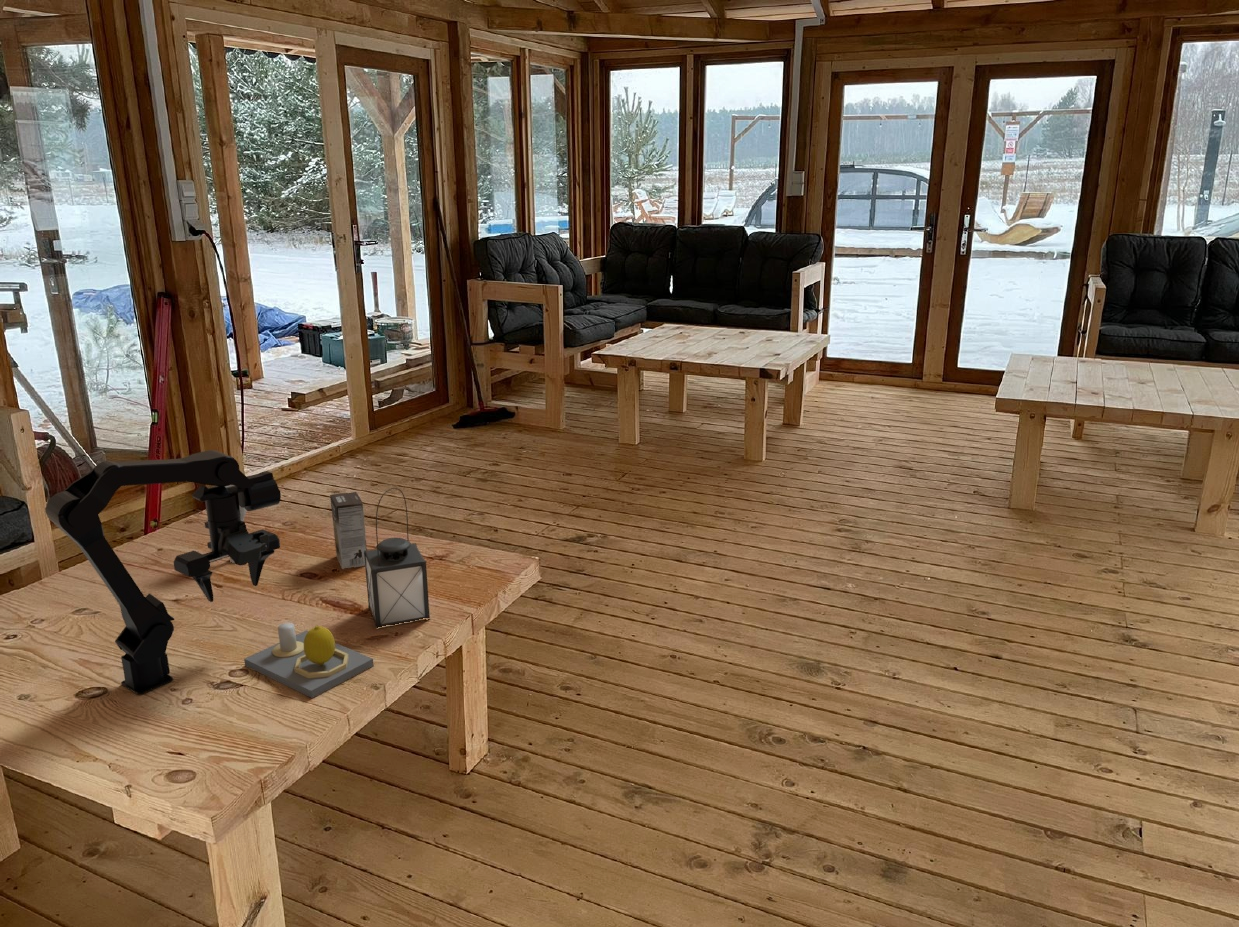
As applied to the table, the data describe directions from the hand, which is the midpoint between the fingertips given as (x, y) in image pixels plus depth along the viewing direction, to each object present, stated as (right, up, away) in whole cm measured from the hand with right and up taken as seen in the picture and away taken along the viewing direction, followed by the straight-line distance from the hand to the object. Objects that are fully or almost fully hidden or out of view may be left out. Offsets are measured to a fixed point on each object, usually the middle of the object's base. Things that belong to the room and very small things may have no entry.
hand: (233, 593), depth 177 cm
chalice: (-18, +2, +46) cm, 50 cm away
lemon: (+19, -13, -6) cm, 24 cm away
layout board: (+16, -13, -3) cm, 21 cm away
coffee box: (+10, +1, +45) cm, 46 cm away
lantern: (+28, -7, +18) cm, 34 cm away
